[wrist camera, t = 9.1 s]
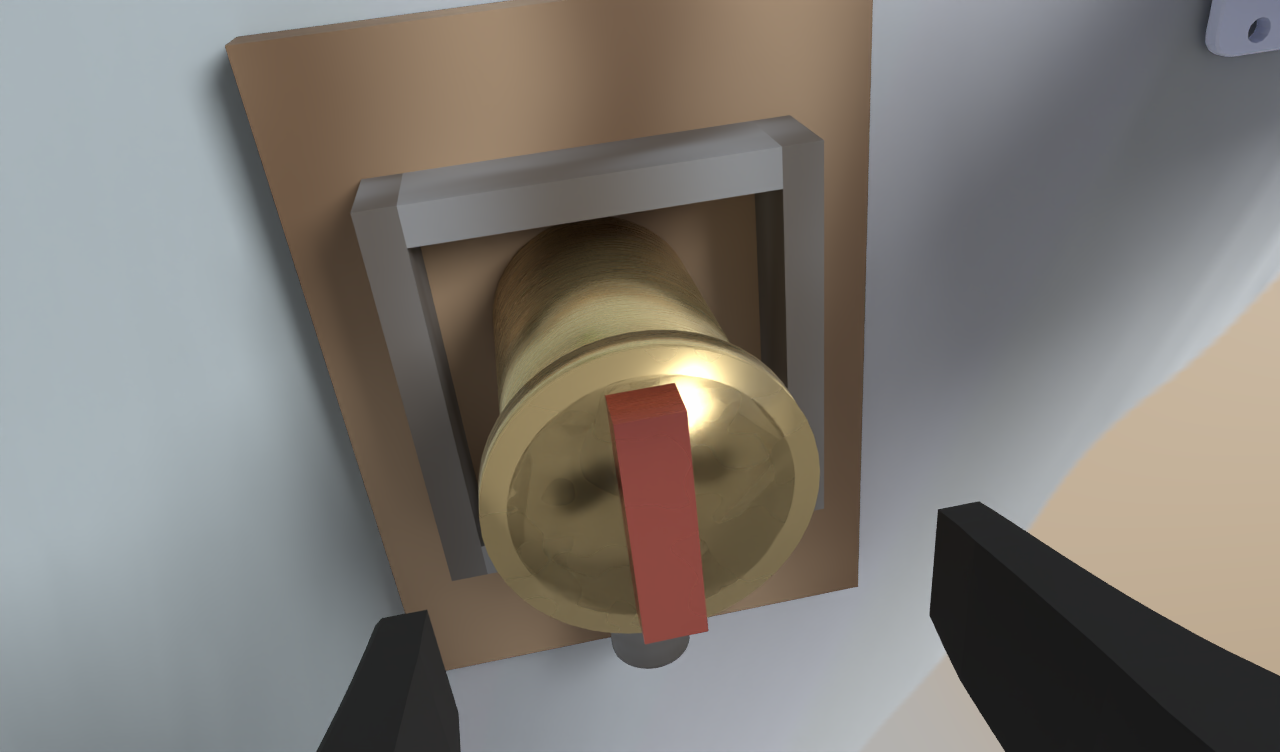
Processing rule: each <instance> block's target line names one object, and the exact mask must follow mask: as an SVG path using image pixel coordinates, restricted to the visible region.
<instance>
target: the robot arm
mask: <svg viewBox="0 0 1280 752" xmlns="http://www.w3.org/2000/svg"><path fill="white" fill-rule="evenodd" d="M1256 20H1257V27H1256V29H1255V31H1254V33H1253V34H1252V35H1251V36H1250V37H1249V38H1248V31H1249V29H1250V26H1251V25H1252V24H1253V23H1254V22H1255V21H1256ZM1205 43H1206V45H1207V48H1208V50H1209V51H1211V52H1212V53H1213V54H1216V55H1220V56H1226V57H1234V56H1241V55H1247V54H1254V53H1261V52H1267V51H1274V50H1280V0H1212V5H1211V10H1210V15H1209V20H1208V25H1207V30H1206V39H1205ZM930 617H931V620H932V622H933V624H934V626H935V628H936V631H937V633H938V635H939V637H940V639H941V641H942V644H943V646H944V648H945V650H946V652H947V654H948V656H949V658H950V660H951V663H952V665H953V667H954V669H955V670H956V673H957V675H958V677H959V679H960V681H961V682H962V684H963V685H964V687H965V689H966V690H967V692H968V694H969V695H970V697H971V698H972V700H973V702H974V703H975V704H976V706H977V708H978V710H979V711H980V713H981V714H982V716H983V717H984V719H985V721H986V722H987V724H988V725H989V727H990V729H991V730H992V732H993V733H994V735H995V736H996V738H997V740H998V741H999V743H1000V744H1001V746H1002V747H1003V749H1004V750H1005V752H1280V676H1279V675H1277V674H1275V673H1273V672H1271V671H1268V670H1266V669H1264V668H1262V667H1260V666H1258V665H1256V664H1254V663H1252V662H1250V661H1248V660H1246V659H1243V658H1241V657H1239V656H1237V655H1235V654H1233V653H1231V652H1229V651H1227V650H1225V649H1223V648H1221V647H1219V646H1217V645H1215V644H1213V643H1211V642H1209V641H1207V640H1206V639H1204V638H1202V637H1200V636H1198V635H1196V634H1194V633H1192V632H1191V631H1189V630H1187V629H1185V628H1184V627H1182V626H1180V625H1178V624H1176V623H1174V622H1173V621H1171V620H1169V619H1167V618H1166V617H1164V616H1162V615H1160V614H1158V613H1156V612H1155V611H1153V610H1151V609H1149V608H1148V607H1146V606H1144V605H1143V604H1141V603H1139V602H1138V601H1136V600H1134V599H1132V598H1131V597H1129V596H1127V595H1125V594H1124V593H1122V592H1120V591H1119V590H1117V589H1116V588H1114V587H1112V586H1111V585H1109V584H1107V583H1106V582H1104V581H1102V580H1101V579H1099V578H1098V577H1096V576H1094V575H1093V574H1091V573H1090V572H1088V571H1087V570H1085V569H1083V568H1082V567H1080V566H1079V565H1077V564H1075V563H1074V562H1072V561H1071V560H1069V559H1068V558H1066V557H1065V556H1063V555H1061V554H1060V553H1058V552H1057V551H1055V550H1054V549H1052V548H1050V547H1049V546H1048V545H1046V544H1044V543H1043V542H1041V541H1040V540H1038V539H1037V538H1035V537H1034V536H1032V535H1031V534H1029V533H1028V532H1026V531H1025V530H1023V529H1021V528H1020V527H1018V526H1017V525H1015V524H1014V523H1012V522H1011V521H1009V520H1008V519H1006V518H1005V517H1003V516H1001V515H1000V514H998V513H997V512H995V511H994V510H992V509H990V508H989V507H987V506H986V505H984V504H982V503H981V502H974V503H969V504H963V505H958V506H953V507H948V508H943V509H938V517H937V529H936V541H935V554H934V566H933V578H932V591H931V603H930ZM316 752H461V751H460V733H459V716H458V710H457V707H456V704H455V700H454V697H453V694H452V690H451V687H450V684H449V680H448V677H447V674H446V670H445V667H444V664H443V660H442V657H441V654H440V650H439V647H438V644H437V640H436V637H435V634H434V630H433V627H432V624H431V620H430V617H429V614H428V611H427V610H422V611H417V612H412V613H407V614H402V615H397V616H392V617H387V618H382V619H381V620H380V621H379V622H378V623H377V625H376V626H375V628H374V630H373V633H372V635H371V638H370V640H369V642H368V645H367V647H366V650H365V652H364V654H363V656H362V659H361V661H360V663H359V666H358V668H357V670H356V672H355V674H354V677H353V679H352V681H351V683H350V685H349V687H348V690H347V692H346V694H345V696H344V698H343V700H342V702H341V704H340V706H339V708H338V711H337V712H336V714H335V716H334V718H333V720H332V722H331V724H330V726H329V728H328V730H327V732H326V734H325V736H324V738H323V740H322V742H321V744H320V746H319V748H318V750H317V751H316Z"/></svg>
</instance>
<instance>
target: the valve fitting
mask: <svg viewBox="0 0 1280 752" xmlns="http://www.w3.org/2000/svg"><path fill="white" fill-rule="evenodd" d="M493 331H494V345H495V359H496V373H497V387H498V401H499V415H500V416H499V417H498V418H497V420H496V422H495V424H494V426H493V428H492V430H491V432H490V434H489V436H488V439H487V442H486V445H485V448H484V451H483V454H482V457H481V464H480V470H479V478H478V498H479V521H480V527H481V533H482V538H483V541H484V544H485V547H486V550H487V553H488V555H489V557H490V559H491V561H492V563H493V565H494V567H495V568H496V570H497V572H498V573H499V574H500V576H501V577H502V578H503V580H504V581H505V582H506V584H507V585H508V586H509V587H510V588H511V589H512V590H513V591H514V592H515V593H516V594H517V595H518V596H519V597H520V598H522V599H523V600H524V601H526V602H527V603H528V604H530V605H531V606H533V607H534V608H535V609H537V610H539V611H541V612H543V613H544V614H546V615H548V616H550V617H552V618H554V619H557V620H559V621H562V622H564V623H567V624H569V625H573V626H576V627H580V628H584V629H588V630H593V631H600V632H607V633H625V634H632V633H642V635H643V639H644V643H645V644H649V643H654V642H659V641H664V640H668V639H673V638H678V637H683V636H687V635H692V634H697V633H702V632H706V631H708V623H707V618H708V617H710V616H712V615H714V614H717V613H719V612H721V611H723V610H725V609H727V608H729V607H731V606H732V605H734V604H735V603H737V602H739V601H740V600H742V599H744V598H745V597H747V596H748V595H749V594H751V593H752V592H753V591H755V590H756V589H757V588H759V587H760V586H761V585H763V584H764V583H765V582H766V581H767V580H768V579H769V578H770V577H771V576H772V575H773V574H774V573H776V571H777V570H778V569H779V568H780V567H781V566H782V565H783V563H784V562H785V561H786V560H787V559H788V558H789V556H790V555H791V553H792V552H793V551H794V549H795V548H796V546H797V545H798V543H799V542H800V540H801V538H802V536H803V534H804V532H805V530H806V529H807V527H808V525H809V522H810V519H811V517H812V514H813V511H814V508H815V505H816V500H817V495H818V491H819V479H820V465H819V454H818V450H817V446H816V442H815V438H814V435H813V432H812V430H811V428H810V425H809V423H808V421H807V419H806V417H805V415H804V414H803V412H802V411H801V409H800V408H799V406H798V405H797V403H796V402H795V400H794V399H793V397H792V396H791V394H790V392H789V391H788V389H787V388H786V386H785V385H784V383H783V382H782V381H781V380H780V379H779V378H778V377H777V376H776V374H775V373H774V372H773V371H772V370H771V369H770V368H769V367H767V366H766V365H765V364H764V363H763V362H761V361H760V360H759V359H758V358H756V357H755V356H753V355H752V354H750V353H748V352H746V351H745V350H743V349H741V348H740V347H738V346H736V345H733V344H731V343H730V342H729V340H728V339H727V337H726V335H725V333H724V332H723V330H722V328H721V327H720V325H719V323H718V322H717V320H716V318H715V317H714V315H713V313H712V311H711V310H710V308H709V306H708V305H707V303H706V301H705V300H704V298H703V296H702V295H701V293H700V291H699V290H698V288H697V286H696V284H695V283H694V281H693V279H692V278H691V276H690V274H689V273H688V271H687V269H686V268H685V266H684V264H683V262H682V261H681V259H680V258H679V256H678V255H677V253H676V252H675V251H674V250H673V249H672V248H671V246H670V245H669V244H668V243H667V242H666V241H664V240H663V239H662V238H661V237H660V236H658V235H657V234H655V233H654V232H652V231H651V230H649V229H648V228H646V227H643V226H641V225H639V224H637V223H634V222H631V221H628V220H624V219H620V218H614V217H602V218H596V219H590V220H584V221H577V222H571V223H565V224H558V225H554V226H552V227H550V228H548V229H546V230H544V231H542V232H540V233H539V234H538V235H536V236H535V237H533V238H532V239H530V240H529V241H528V242H527V243H526V244H525V245H524V246H522V247H521V248H520V249H519V250H518V252H517V253H516V254H515V255H514V256H513V257H512V259H511V260H510V262H509V263H508V265H507V266H506V268H505V269H504V271H503V273H502V275H501V278H500V280H499V282H498V285H497V288H496V292H495V295H494V302H493Z"/></svg>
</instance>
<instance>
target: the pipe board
mask: <svg viewBox="0 0 1280 752" xmlns="http://www.w3.org/2000/svg"><path fill="white" fill-rule="evenodd" d="M872 9H873V0H511V1H503V2H496V3H488V4H481V5H473V6H466V7H458V8H450V9H443V10H435V11H428V12H420V13H413V14H405V15H398V16H390V17H383V18H375V19H368V20H360V21H353V22H345V23H338V24H330V25H323V26H315V27H308V28H300V29H293V30H285V31H277V32H270V33H262V34H255V35H247V36H240V37H236V38H235V39H233V40H232V41H231V42H229V43H228V44H227V45H225V48H226V51H227V54H228V57H229V61H230V64H231V67H232V70H233V73H234V76H235V79H236V83H237V86H238V89H239V92H240V95H241V98H242V101H243V105H244V108H245V111H246V114H247V117H248V120H249V123H250V127H251V130H252V133H253V136H254V139H255V142H256V145H257V149H258V152H259V155H260V158H261V161H262V164H263V167H264V171H265V174H266V177H267V180H268V183H269V186H270V189H271V193H272V196H273V199H274V202H275V205H276V208H277V211H278V215H279V218H280V221H281V224H282V227H283V230H284V233H285V237H286V240H287V243H288V246H289V249H290V252H291V255H292V259H293V262H294V265H295V268H296V271H297V274H298V277H299V281H300V284H301V287H302V290H303V293H304V296H305V299H306V303H307V306H308V309H309V312H310V315H311V318H312V321H313V325H314V328H315V331H316V334H317V337H318V340H319V343H320V347H321V350H322V353H323V356H324V359H325V362H326V365H327V369H328V372H329V375H330V378H331V381H332V384H333V387H334V391H335V394H336V397H337V400H338V403H339V406H340V409H341V413H342V416H343V419H344V422H345V425H346V428H347V431H348V435H349V438H350V441H351V444H352V447H353V450H354V453H355V457H356V460H357V463H358V466H359V469H360V472H361V475H362V479H363V482H364V485H365V488H366V491H367V494H368V497H369V501H370V504H371V507H372V510H373V513H374V516H375V520H376V523H377V526H378V529H379V532H380V535H381V538H382V542H383V545H384V548H385V551H386V554H387V557H388V560H389V564H390V567H391V570H392V573H393V576H394V579H395V582H396V586H397V589H398V592H399V595H400V598H401V601H402V604H403V608H404V611H405V614H407V613H412V612H417V611H422V610H427V611H428V614H429V617H430V620H431V624H432V627H433V630H434V634H435V637H436V640H437V644H438V647H439V650H440V654H441V657H442V660H443V664H444V667H445V670H446V671H447V670H452V669H457V668H462V667H467V666H471V665H476V664H481V663H486V662H491V661H496V660H501V659H506V658H511V657H515V656H520V655H525V654H530V653H535V652H540V651H545V650H550V649H555V648H559V647H564V646H569V645H574V644H579V643H584V642H589V641H594V640H599V639H603V638H608V637H611V639H612V645H613V649H614V651H615V653H616V655H617V656H618V657H619V658H620V659H621V660H622V661H623V662H625V663H627V664H628V665H631V666H634V667H637V668H646V669H649V668H658V667H662V666H665V665H667V664H670V663H672V662H673V661H675V660H676V659H678V658H679V657H680V656H681V655H682V654H683V653H684V651H685V650H686V648H687V646H688V643H689V635H687V636H683V637H678V638H673V639H668V640H664V641H659V642H654V643H649V644H645V643H644V639H643V635H642V633H632V634H625V633H607V632H600V631H593V630H588V629H584V628H580V627H576V626H573V625H569V624H567V623H564V622H562V621H559V620H557V619H554V618H552V617H550V616H548V615H546V614H544V613H543V612H541V611H539V610H537V609H535V608H534V607H533V606H531V605H530V604H528V603H527V602H526V601H524V600H523V599H522V598H520V597H519V596H518V595H517V594H516V593H515V592H514V591H513V590H512V589H511V588H510V587H509V586H508V585H507V584H506V582H505V581H504V580H503V578H502V577H501V576H500V574H499V573H498V572H497V570H496V568H495V567H494V565H493V563H492V561H491V559H490V557H489V555H488V553H487V550H486V547H485V544H484V541H483V538H482V533H481V527H480V521H479V498H478V478H479V470H480V464H481V457H482V454H483V451H484V448H485V445H486V442H487V439H488V436H489V434H490V432H491V430H492V428H493V426H494V424H495V422H496V420H497V418H498V417H499V416H500V415H499V401H498V387H497V373H496V359H495V345H494V331H493V302H494V295H495V292H496V288H497V285H498V282H499V280H500V278H501V275H502V273H503V271H504V269H505V268H506V266H507V265H508V263H509V262H510V260H511V259H512V257H513V256H514V255H515V254H516V253H517V252H518V250H519V249H520V248H521V247H522V246H524V245H525V244H526V243H527V242H528V241H529V240H530V239H532V238H533V237H535V236H536V235H538V234H539V233H540V232H542V231H544V230H546V229H548V228H550V227H552V226H554V225H558V224H565V223H571V222H577V221H584V220H590V219H596V218H602V217H614V218H620V219H624V220H628V221H631V222H634V223H637V224H639V225H641V226H643V227H646V228H648V229H649V230H651V231H652V232H654V233H655V234H657V235H658V236H660V237H661V238H662V239H663V240H664V241H666V242H667V243H668V244H669V245H670V246H671V248H672V249H673V250H674V251H675V252H676V253H677V255H678V256H679V258H680V259H681V261H682V262H683V264H684V266H685V268H686V269H687V271H688V273H689V274H690V276H691V278H692V279H693V281H694V283H695V284H696V286H697V288H698V290H699V291H700V293H701V295H702V296H703V298H704V300H705V301H706V303H707V305H708V306H709V308H710V310H711V311H712V313H713V315H714V317H715V318H716V320H717V322H718V323H719V325H720V327H721V328H722V330H723V332H724V333H725V335H726V337H727V339H728V340H729V342H730V343H731V344H733V345H736V346H738V347H740V348H741V349H743V350H745V351H746V352H748V353H750V354H752V355H753V356H755V357H756V358H758V359H759V360H760V361H761V362H763V363H764V364H765V365H766V366H767V367H769V368H770V369H771V370H772V371H773V372H774V373H775V374H776V376H777V377H778V378H779V379H780V380H781V381H782V382H783V383H784V385H785V386H786V388H787V389H788V391H789V392H790V394H791V396H792V397H793V399H794V400H795V402H796V403H797V405H798V406H799V408H800V409H801V411H802V412H803V414H804V415H805V417H806V419H807V421H808V423H809V425H810V428H811V430H812V432H813V435H814V438H815V442H816V446H817V450H818V454H819V465H820V479H819V491H818V495H817V500H816V505H815V508H814V511H813V514H812V517H811V519H810V522H809V525H808V527H807V529H806V530H805V532H804V534H803V536H802V538H801V540H800V542H799V543H798V545H797V546H796V548H795V549H794V551H793V552H792V553H791V555H790V556H789V558H788V559H787V560H786V561H785V562H784V563H783V565H782V566H781V567H780V568H779V569H778V570H777V571H776V573H774V574H773V575H772V576H771V577H770V578H769V579H768V580H767V581H766V582H765V583H764V584H763V585H761V586H760V587H759V588H757V589H756V590H755V591H753V592H752V593H751V594H749V595H748V596H747V597H745V598H744V599H742V600H740V601H739V602H737V603H735V604H734V605H732V606H731V607H729V608H727V609H725V610H723V611H721V612H719V613H717V614H714V615H712V616H716V615H721V614H726V613H731V612H736V611H740V610H745V609H750V608H755V607H760V606H765V605H770V604H775V603H780V602H784V601H789V600H794V599H799V598H804V597H809V596H814V595H819V594H824V593H828V592H833V591H838V590H843V589H848V588H853V587H858V559H859V520H860V481H861V442H862V402H863V363H864V324H865V284H866V245H867V206H868V167H869V127H870V88H871V49H872ZM710 617H711V616H710Z"/></svg>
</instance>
